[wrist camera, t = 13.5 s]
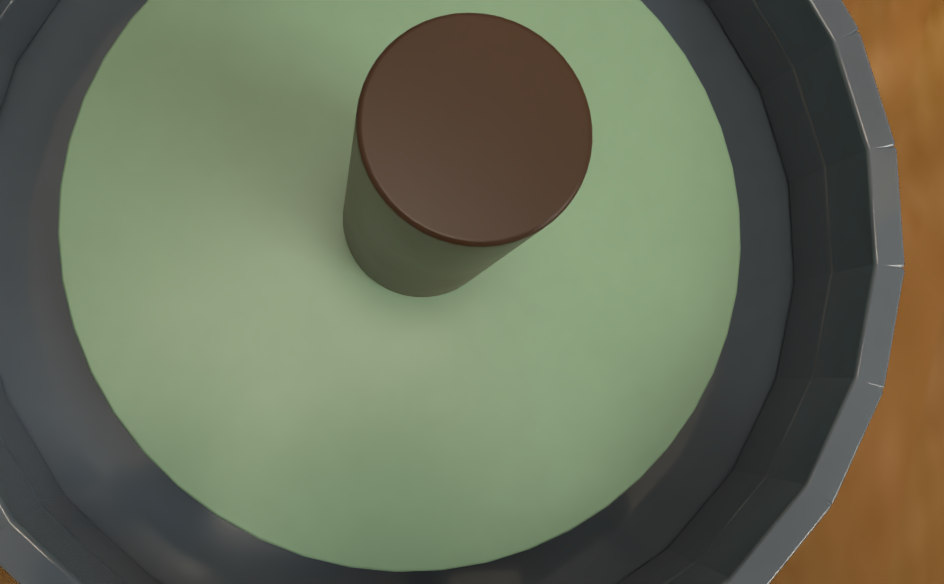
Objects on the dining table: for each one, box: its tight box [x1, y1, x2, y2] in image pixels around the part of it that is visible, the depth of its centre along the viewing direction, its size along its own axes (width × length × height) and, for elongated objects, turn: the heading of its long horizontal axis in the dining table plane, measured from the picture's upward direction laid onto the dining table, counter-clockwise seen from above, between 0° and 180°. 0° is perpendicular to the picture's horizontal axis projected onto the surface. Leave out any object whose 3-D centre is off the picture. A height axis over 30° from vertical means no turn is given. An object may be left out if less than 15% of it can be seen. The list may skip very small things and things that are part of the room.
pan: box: [0, 0, 905, 584], centre depth 17 cm, size 17×17×4 cm
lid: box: [58, 0, 741, 572], centre depth 14 cm, size 12×12×7 cm
